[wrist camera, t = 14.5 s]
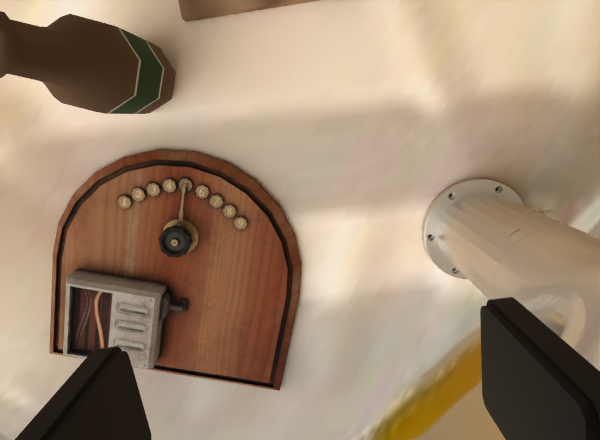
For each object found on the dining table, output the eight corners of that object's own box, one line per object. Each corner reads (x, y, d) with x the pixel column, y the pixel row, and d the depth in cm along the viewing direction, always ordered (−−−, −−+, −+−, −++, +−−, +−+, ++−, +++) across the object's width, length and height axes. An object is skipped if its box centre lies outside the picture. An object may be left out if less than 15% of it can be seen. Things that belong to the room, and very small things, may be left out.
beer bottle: (191, 70, 44) (74, 23, 21) (154, 127, 46) (8, 141, 23) (131, 25, 43) (-64, -78, 20) (95, 85, 45) (-123, 54, 22)
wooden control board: (30, 372, 49) (34, 127, 42) (54, 348, 54) (63, 125, 46) (277, 411, 51) (326, 182, 43) (279, 385, 56) (323, 175, 48)
